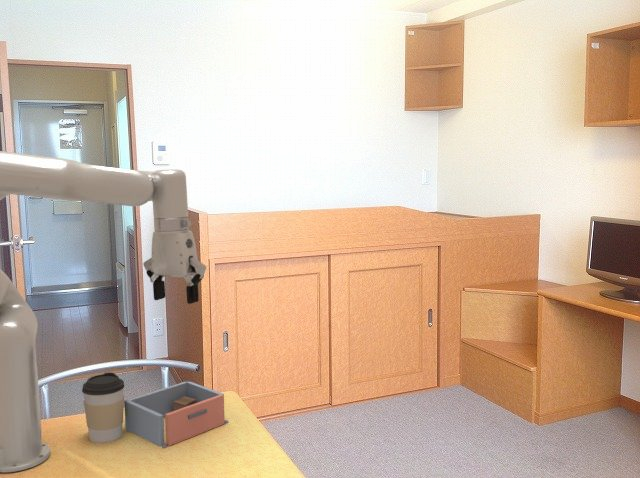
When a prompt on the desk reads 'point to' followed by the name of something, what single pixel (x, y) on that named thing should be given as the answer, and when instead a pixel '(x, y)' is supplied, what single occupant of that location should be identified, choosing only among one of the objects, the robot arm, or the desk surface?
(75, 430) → the desk surface
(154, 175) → the robot arm
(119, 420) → the coffee cup
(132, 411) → the tray
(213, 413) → the tailgate
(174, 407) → the cargo block
